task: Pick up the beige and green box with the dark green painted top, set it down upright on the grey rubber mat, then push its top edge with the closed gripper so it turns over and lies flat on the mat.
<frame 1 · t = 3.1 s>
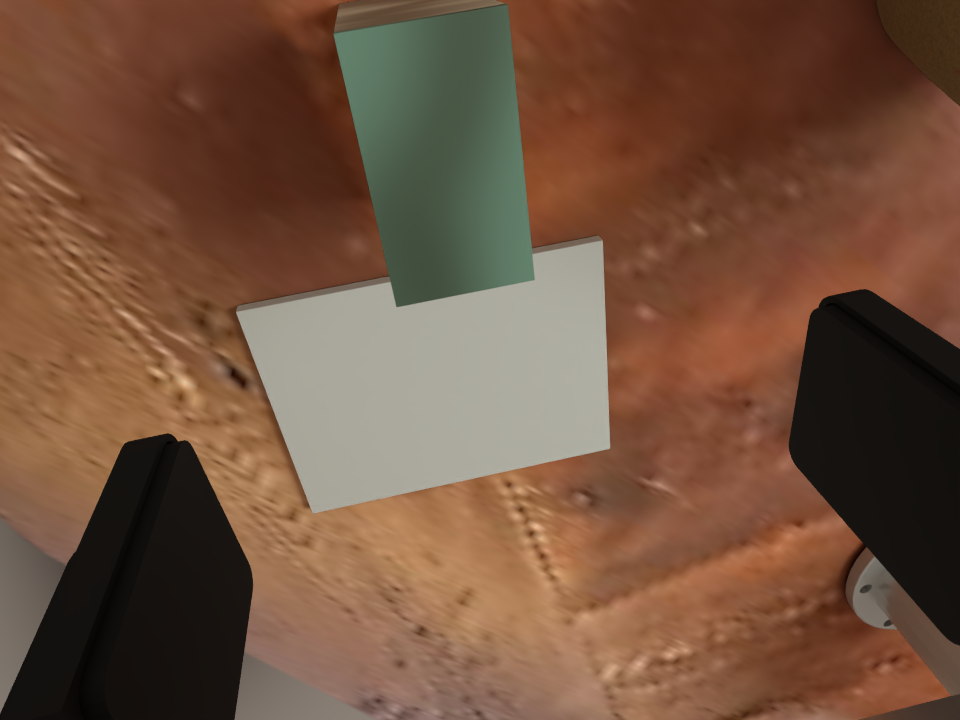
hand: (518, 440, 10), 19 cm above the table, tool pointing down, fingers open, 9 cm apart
beige and green box: (414, 98, 25), on the table
rubber mat: (443, 381, 32), on the table
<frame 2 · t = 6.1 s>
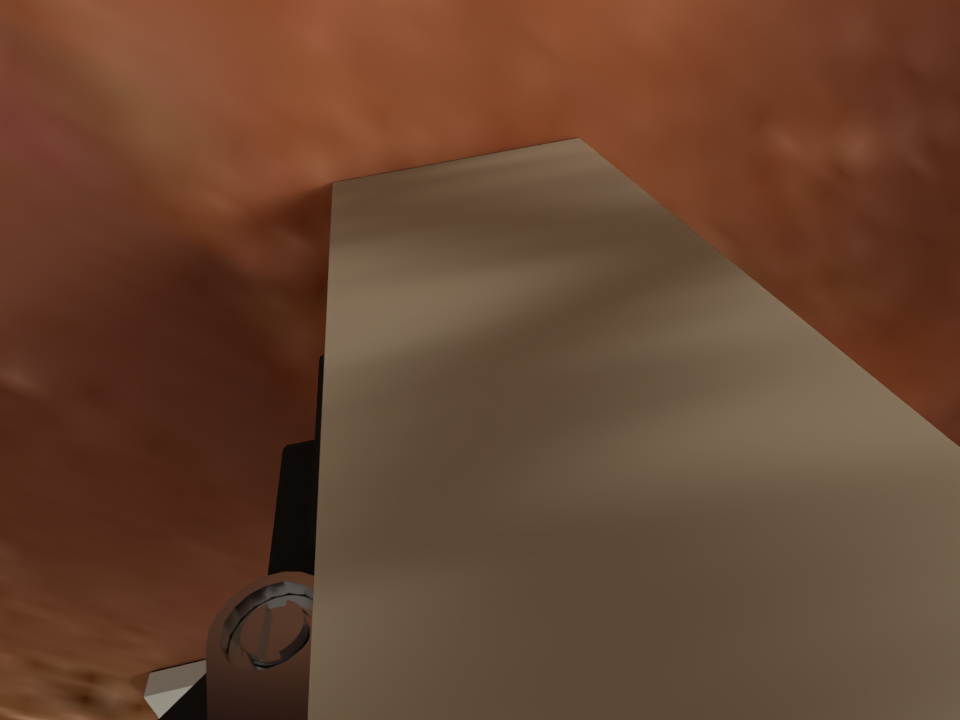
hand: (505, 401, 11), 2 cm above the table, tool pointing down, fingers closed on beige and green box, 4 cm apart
beige and green box: (485, 345, 12), on the table, touching gripper
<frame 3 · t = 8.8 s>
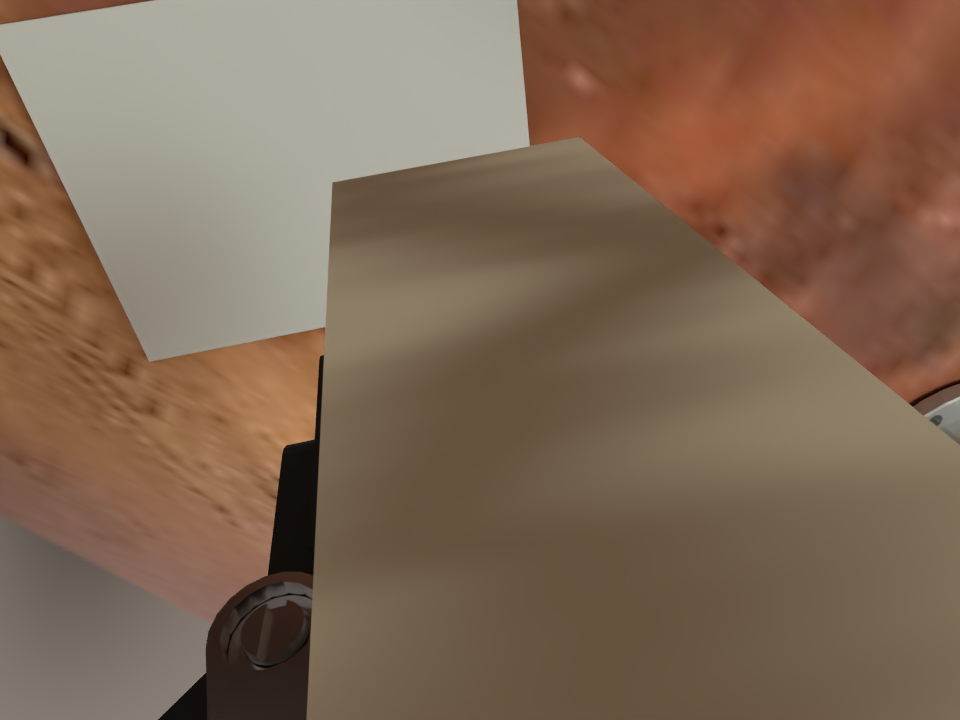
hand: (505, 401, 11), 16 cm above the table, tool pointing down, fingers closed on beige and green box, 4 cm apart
beige and green box: (485, 345, 12), point 14 cm above the table, touching gripper
rubber mat: (310, 171, 24), on the table
when the fingers open (3 cm above the table, at t = 11.7 s): beige and green box stays where it is, resting on rubber mat.
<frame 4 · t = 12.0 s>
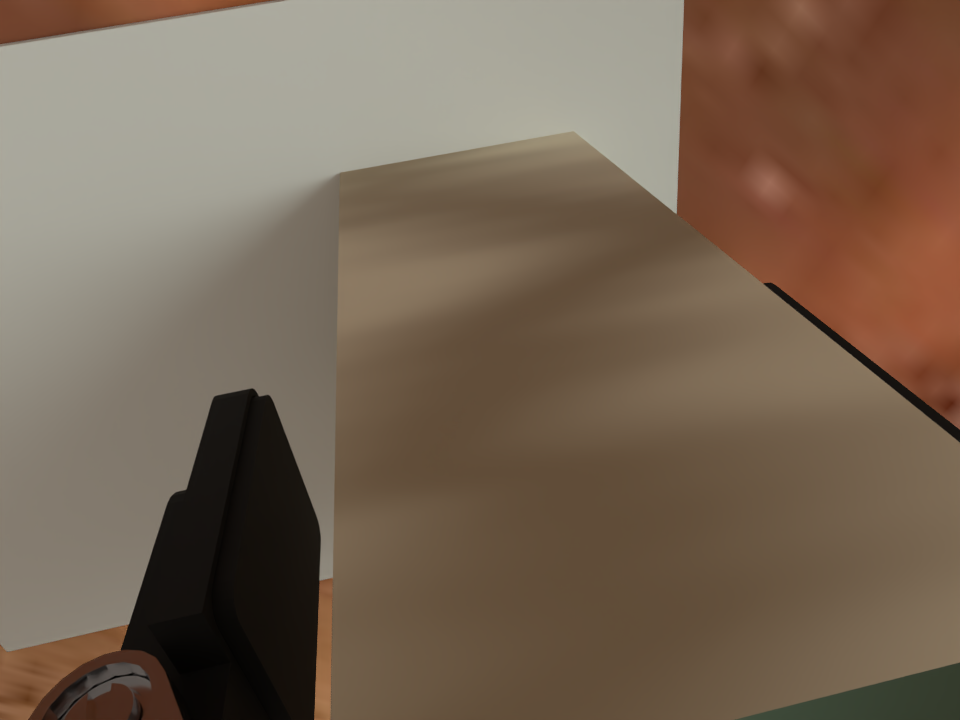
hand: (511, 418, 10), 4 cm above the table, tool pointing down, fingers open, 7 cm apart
beige and green box: (483, 329, 13), point 1 cm above the table, touching rubber mat
rubber mat: (277, 353, 13), on the table
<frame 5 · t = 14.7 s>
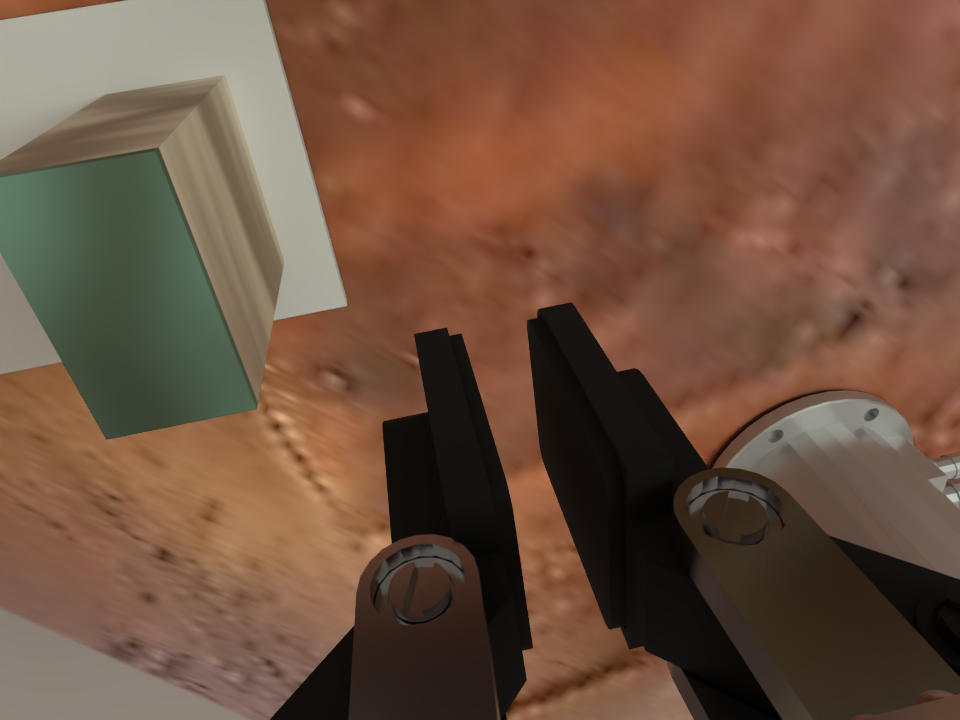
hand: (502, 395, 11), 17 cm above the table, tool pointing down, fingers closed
beige and green box: (202, 185, 24), point 1 cm above the table, touching rubber mat
rubber mat: (93, 199, 24), on the table
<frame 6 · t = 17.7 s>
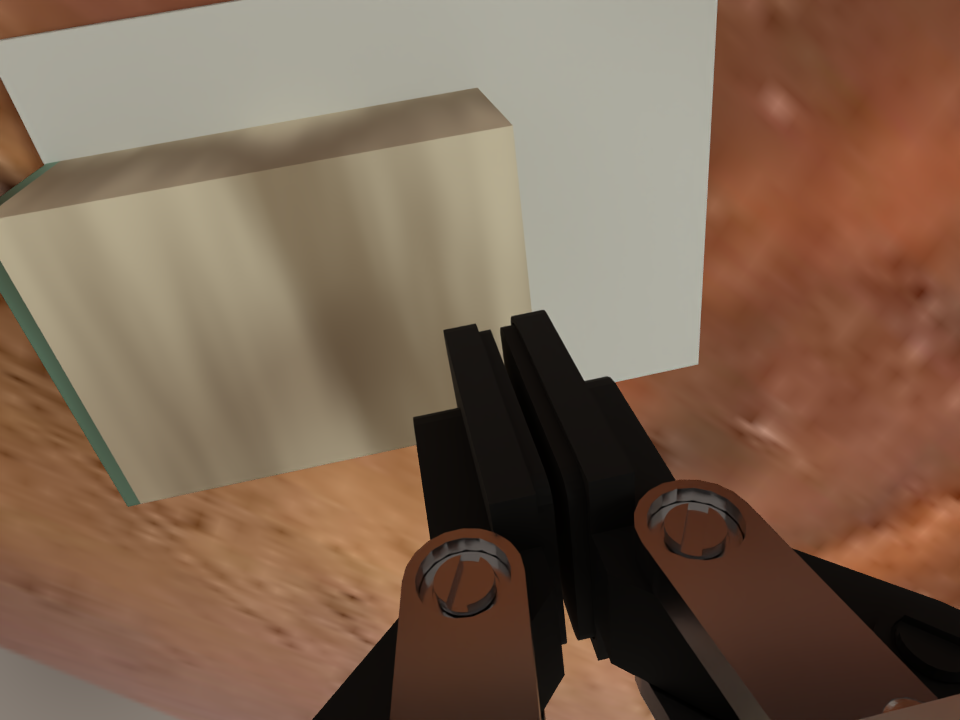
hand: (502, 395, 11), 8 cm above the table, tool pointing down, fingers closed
beige and green box: (510, 255, 16), point 3 cm above the table, tilted 90°, touching rubber mat
rubber mat: (417, 230, 18), on the table
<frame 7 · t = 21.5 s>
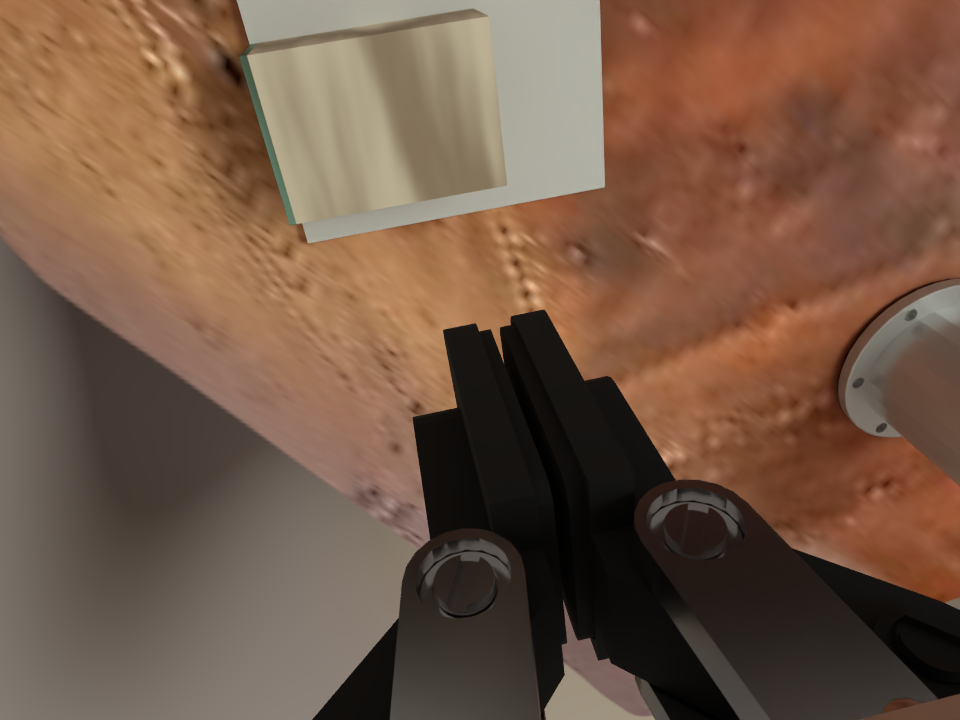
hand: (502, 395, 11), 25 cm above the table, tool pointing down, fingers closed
beige and green box: (490, 97, 30), point 3 cm above the table, tilted 90°, touching rubber mat
rubber mat: (439, 93, 32), on the table
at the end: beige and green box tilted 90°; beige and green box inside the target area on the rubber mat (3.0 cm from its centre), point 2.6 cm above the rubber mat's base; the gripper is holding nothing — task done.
